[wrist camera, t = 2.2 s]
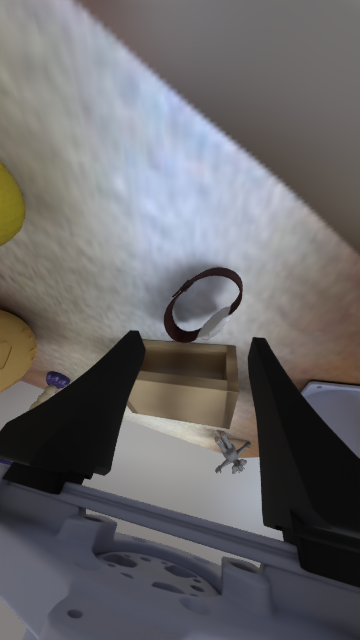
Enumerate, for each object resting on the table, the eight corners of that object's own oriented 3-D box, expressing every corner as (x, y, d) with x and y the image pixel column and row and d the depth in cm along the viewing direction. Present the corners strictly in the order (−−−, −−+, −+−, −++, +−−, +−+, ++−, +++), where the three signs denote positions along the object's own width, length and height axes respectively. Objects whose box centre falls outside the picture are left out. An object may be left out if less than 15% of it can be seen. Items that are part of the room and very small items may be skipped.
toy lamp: (41, 370, 33) (-63, 491, 21) (57, 369, 31) (-47, 501, 19) (61, 382, 36) (-21, 496, 24) (76, 382, 34) (-4, 504, 22)
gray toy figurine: (244, 430, 35) (263, 460, 37) (230, 413, 41) (246, 440, 43) (205, 463, 34) (227, 493, 35) (196, 440, 40) (215, 467, 41)
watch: (194, 333, 18) (189, 363, 15) (156, 309, 16) (143, 337, 14) (257, 285, 13) (266, 317, 10) (210, 245, 12) (206, 270, 9)
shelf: (235, 346, 18) (239, 392, 14) (228, 389, 25) (229, 429, 21) (123, 338, 21) (102, 375, 17) (144, 379, 27) (132, 412, 24)
